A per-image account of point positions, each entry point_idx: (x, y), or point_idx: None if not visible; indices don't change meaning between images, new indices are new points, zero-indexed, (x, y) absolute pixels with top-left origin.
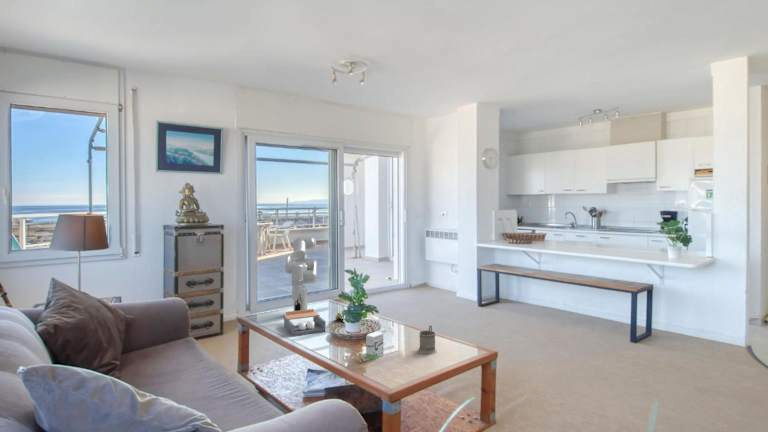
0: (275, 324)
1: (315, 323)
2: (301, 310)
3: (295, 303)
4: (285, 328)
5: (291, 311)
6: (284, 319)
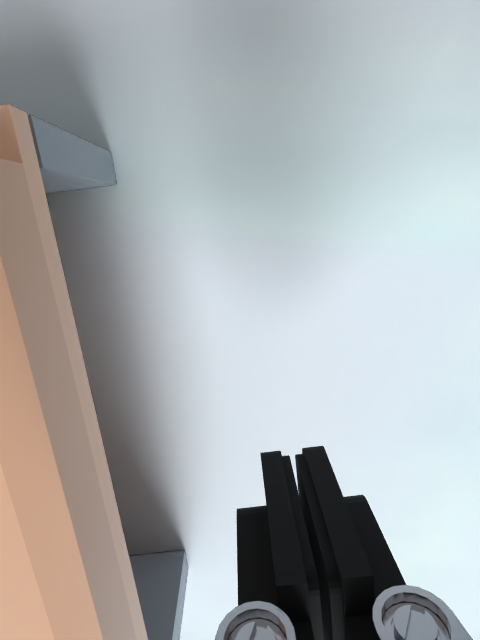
0: (311, 15)
1: None
2: (66, 594)
3: (375, 638)
4: None
5: (8, 342)
6: None
